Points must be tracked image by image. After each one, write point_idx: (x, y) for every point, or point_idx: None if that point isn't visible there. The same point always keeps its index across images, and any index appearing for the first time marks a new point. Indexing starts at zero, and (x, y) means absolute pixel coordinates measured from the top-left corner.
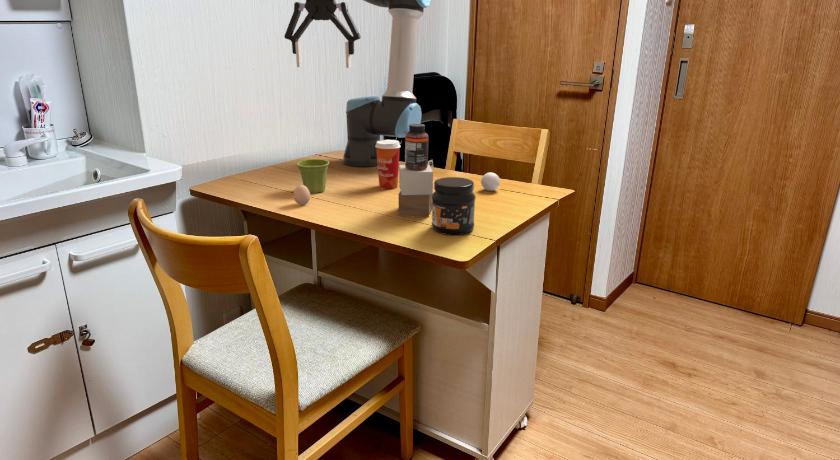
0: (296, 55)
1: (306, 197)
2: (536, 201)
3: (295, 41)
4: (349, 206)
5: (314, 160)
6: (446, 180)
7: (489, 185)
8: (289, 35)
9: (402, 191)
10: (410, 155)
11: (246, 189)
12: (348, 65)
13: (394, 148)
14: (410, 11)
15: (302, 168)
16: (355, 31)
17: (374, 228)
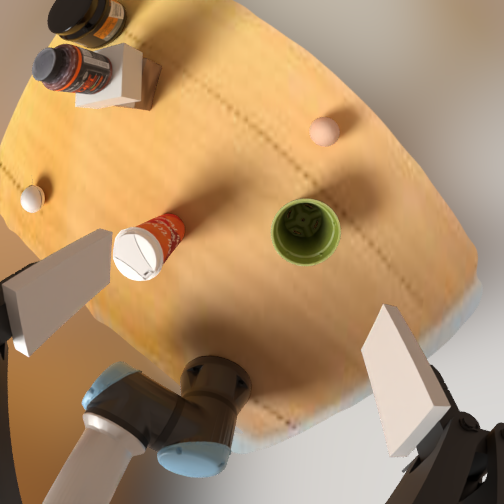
0: (416, 344)
1: (315, 119)
2: (9, 147)
3: (444, 421)
4: (238, 113)
5: (303, 262)
6: (74, 11)
7: (35, 185)
8: (493, 445)
9: (139, 51)
10: (92, 51)
11: (417, 245)
12: (94, 233)
13: (124, 229)
14: None
15: (328, 210)
16: None
17: (202, 14)
